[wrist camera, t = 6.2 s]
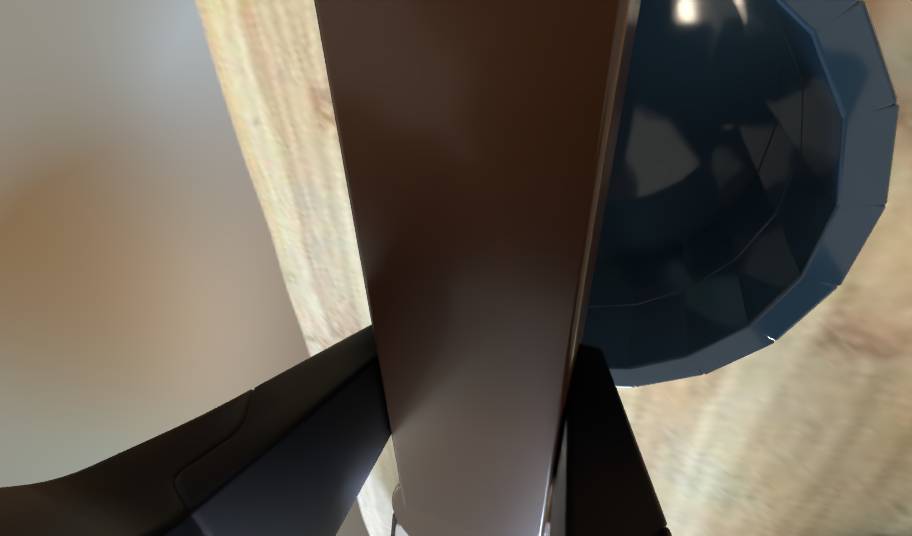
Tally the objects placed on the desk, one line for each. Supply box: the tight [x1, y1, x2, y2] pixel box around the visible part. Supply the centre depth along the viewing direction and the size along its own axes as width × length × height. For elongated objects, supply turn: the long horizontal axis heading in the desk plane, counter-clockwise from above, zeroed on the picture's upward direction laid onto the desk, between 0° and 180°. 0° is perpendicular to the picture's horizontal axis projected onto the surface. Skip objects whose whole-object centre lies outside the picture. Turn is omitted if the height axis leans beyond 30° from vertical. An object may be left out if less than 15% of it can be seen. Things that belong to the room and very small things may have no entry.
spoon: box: [314, 0, 641, 536], centre depth 8 cm, size 17×5×3 cm, turn 2°
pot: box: [582, 0, 899, 388], centre depth 14 cm, size 13×13×7 cm
